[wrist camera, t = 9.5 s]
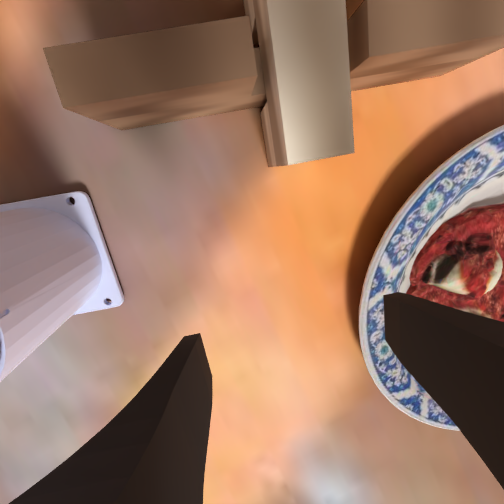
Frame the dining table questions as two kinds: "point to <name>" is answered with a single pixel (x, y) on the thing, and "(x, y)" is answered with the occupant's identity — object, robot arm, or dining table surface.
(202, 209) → the dining table surface
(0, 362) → the robot arm
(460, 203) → the ceramic plate
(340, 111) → the birch slotted plate
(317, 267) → the dining table surface
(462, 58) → the walnut slotted plate
